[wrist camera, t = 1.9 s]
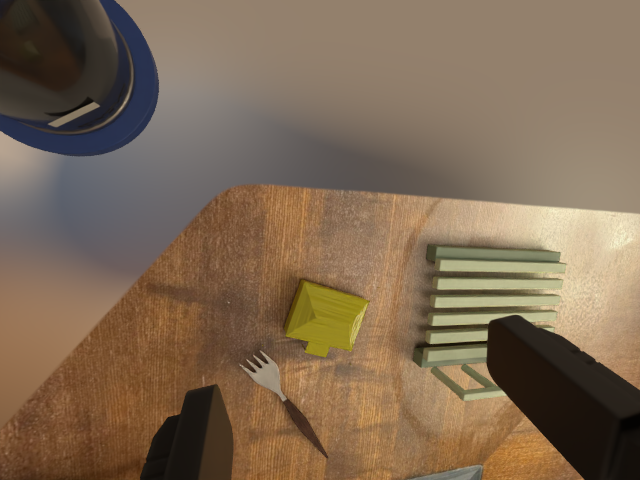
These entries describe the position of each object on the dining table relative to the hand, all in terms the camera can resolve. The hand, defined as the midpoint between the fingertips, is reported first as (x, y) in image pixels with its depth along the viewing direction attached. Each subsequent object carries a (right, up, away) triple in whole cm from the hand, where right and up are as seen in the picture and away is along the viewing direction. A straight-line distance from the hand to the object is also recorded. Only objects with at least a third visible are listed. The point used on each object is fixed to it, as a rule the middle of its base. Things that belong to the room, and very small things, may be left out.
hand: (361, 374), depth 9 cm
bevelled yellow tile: (-1, -4, +24) cm, 25 cm away
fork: (-4, -13, +25) cm, 28 cm away
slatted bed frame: (+19, -4, +30) cm, 36 cm away
